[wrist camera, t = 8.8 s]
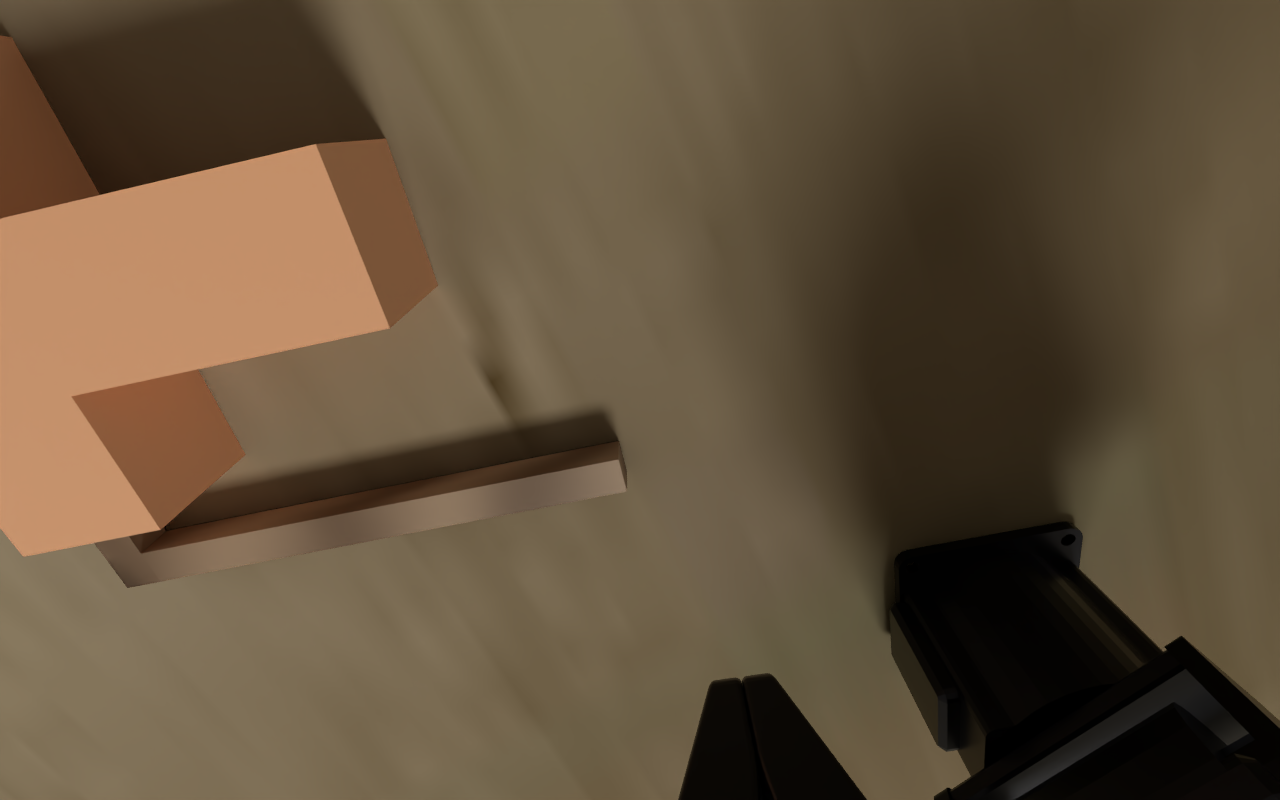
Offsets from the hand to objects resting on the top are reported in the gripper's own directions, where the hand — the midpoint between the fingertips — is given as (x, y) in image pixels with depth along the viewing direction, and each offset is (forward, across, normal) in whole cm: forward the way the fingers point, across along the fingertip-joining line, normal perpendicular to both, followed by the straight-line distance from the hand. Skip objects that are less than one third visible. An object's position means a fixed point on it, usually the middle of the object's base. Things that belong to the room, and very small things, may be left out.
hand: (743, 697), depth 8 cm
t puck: (+12, +13, -6) cm, 18 cm away
